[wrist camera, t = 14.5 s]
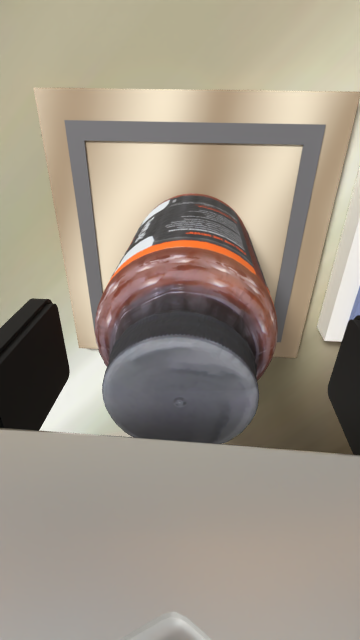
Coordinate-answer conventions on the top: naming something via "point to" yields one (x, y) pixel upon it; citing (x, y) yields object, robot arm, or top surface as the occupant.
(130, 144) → the marked board
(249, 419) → the supplement bottle
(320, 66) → the top surface
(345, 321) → the ink pad
